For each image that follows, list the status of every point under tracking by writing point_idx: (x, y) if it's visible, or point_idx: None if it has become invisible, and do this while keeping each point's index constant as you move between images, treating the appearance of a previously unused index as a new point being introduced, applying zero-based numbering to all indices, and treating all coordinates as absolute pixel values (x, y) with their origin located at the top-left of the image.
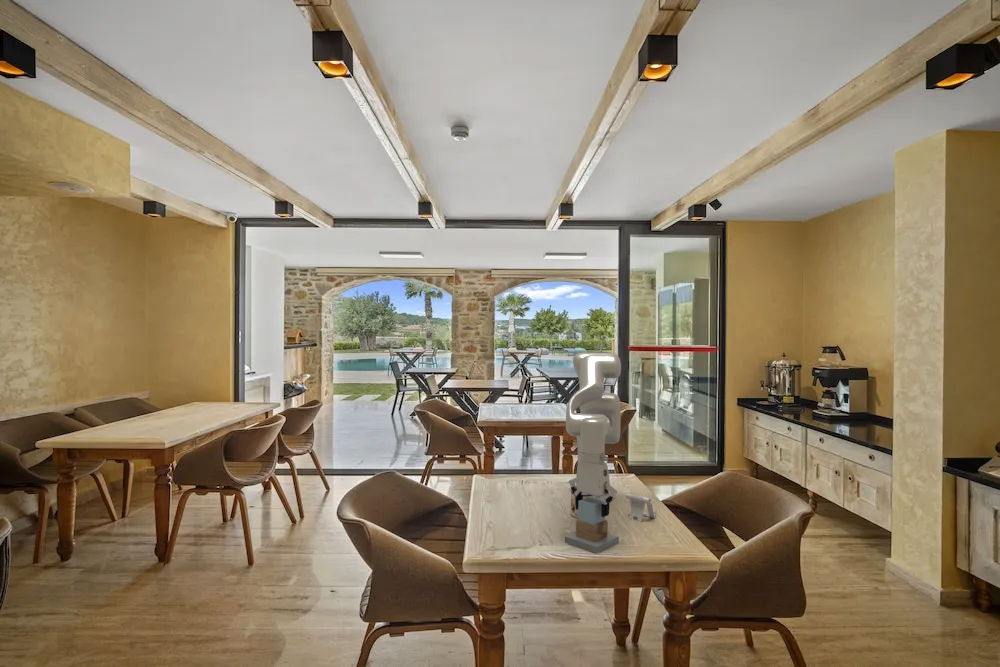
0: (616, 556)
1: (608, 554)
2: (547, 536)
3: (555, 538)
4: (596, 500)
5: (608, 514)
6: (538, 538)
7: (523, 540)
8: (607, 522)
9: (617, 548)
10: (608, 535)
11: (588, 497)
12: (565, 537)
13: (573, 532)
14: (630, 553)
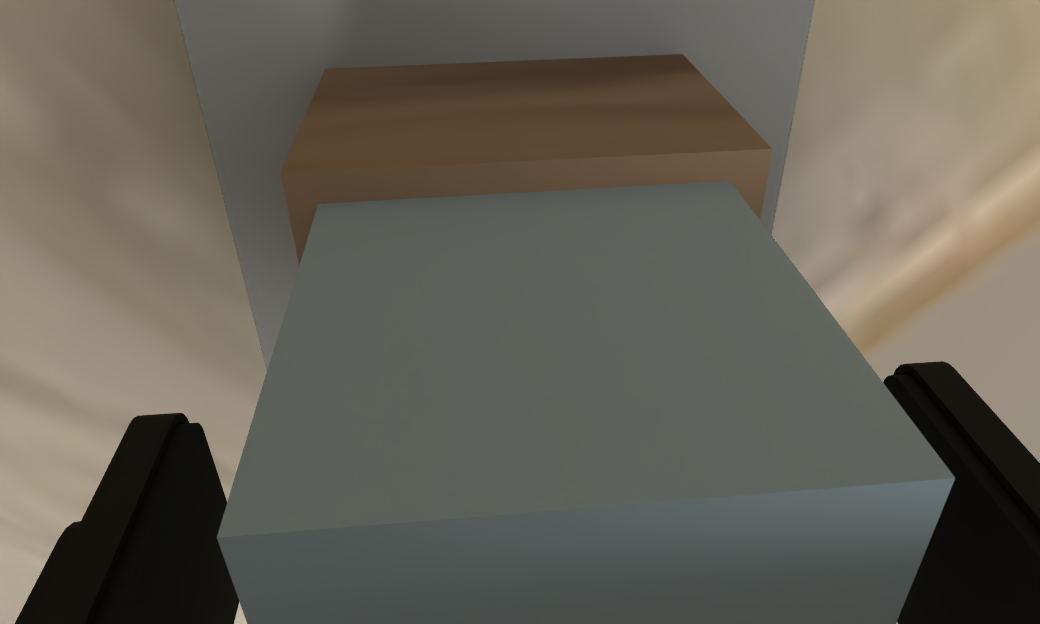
0: (906, 276)
1: (817, 295)
2: (37, 404)
3: (139, 382)
4: (668, 616)
5: (941, 370)
6: (46, 493)
7: (26, 598)
8: (756, 133)
9: (845, 88)
10: (678, 8)
11: (252, 589)
12: None
13: (253, 296)
14: (1030, 98)
